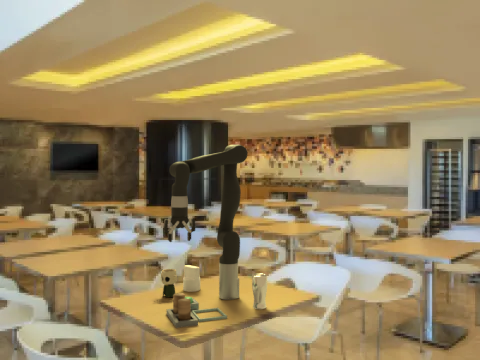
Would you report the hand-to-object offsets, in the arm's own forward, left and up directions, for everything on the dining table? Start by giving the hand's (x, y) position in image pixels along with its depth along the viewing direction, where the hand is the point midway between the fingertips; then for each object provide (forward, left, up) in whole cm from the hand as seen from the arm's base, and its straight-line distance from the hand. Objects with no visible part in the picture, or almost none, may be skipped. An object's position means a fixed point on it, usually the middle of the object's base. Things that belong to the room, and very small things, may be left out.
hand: (179, 241), depth 209 cm
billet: (+4, +25, -29) cm, 38 cm away
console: (-2, +7, -30) cm, 31 cm away
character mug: (+1, -18, -30) cm, 35 cm away
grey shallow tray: (+4, +21, -30) cm, 37 cm away
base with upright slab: (-13, -27, -30) cm, 43 cm away
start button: (-2, +7, -30) cm, 30 cm away
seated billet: (+4, +16, -29) cm, 33 cm away
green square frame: (-8, +20, -30) cm, 37 cm away
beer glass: (-34, +14, -30) cm, 48 cm away
